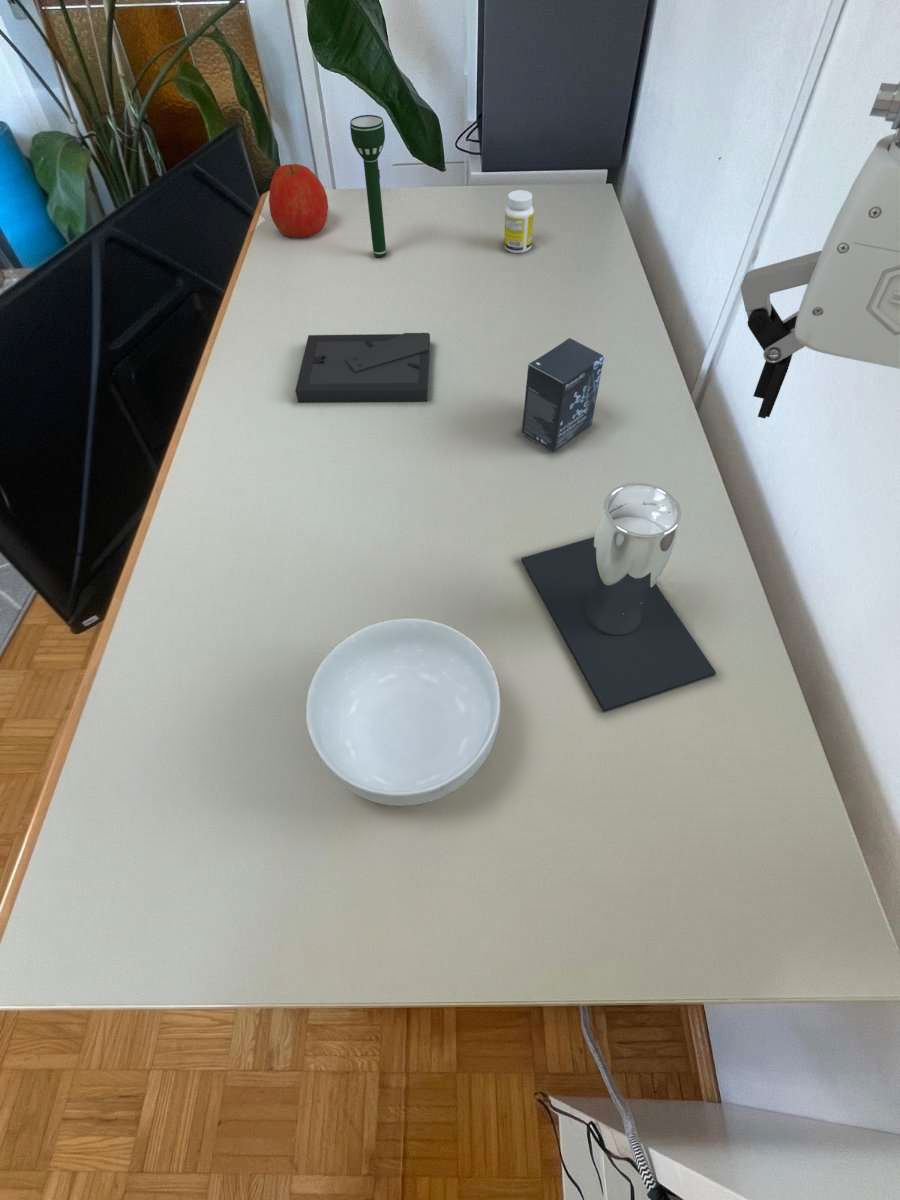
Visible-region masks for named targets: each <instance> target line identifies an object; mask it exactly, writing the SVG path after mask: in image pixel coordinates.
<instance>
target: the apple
mask: <svg viewBox="0 0 900 1200" xmlns="http://www.w3.org/2000/svg"><path fill="white" fill-rule="evenodd" d="M268 193H269V194H268V207H269V213H270V217H271V219H272V221H273V223H274V225H275V227H276V228H277V230H278V231H279V232H280V233H281V234H283V235H285V236H286V237H291V238H309V237H311V236H315V235H316V234H318V233H320V232H321V231H322V230H323V229H324V227H325V226H326V223H327V220H328V213H329V202H328V201H329V200H328V195H327V192H326V189H325V187H324V185H323V184H322V182H321V180H320V179H319V178H318V176H317V175H316V174H315V173H314V172H313V171H312V170H311V169H309V167H308V166H306V165H305V166H304V165H302V164H297V163H291V164H290V163H289V164H284V165H281V166H279V167H278V168H277V169H276V170H275V171H274V174H273V176H272V179H271V182H270V185H269V192H268Z"/></svg>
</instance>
